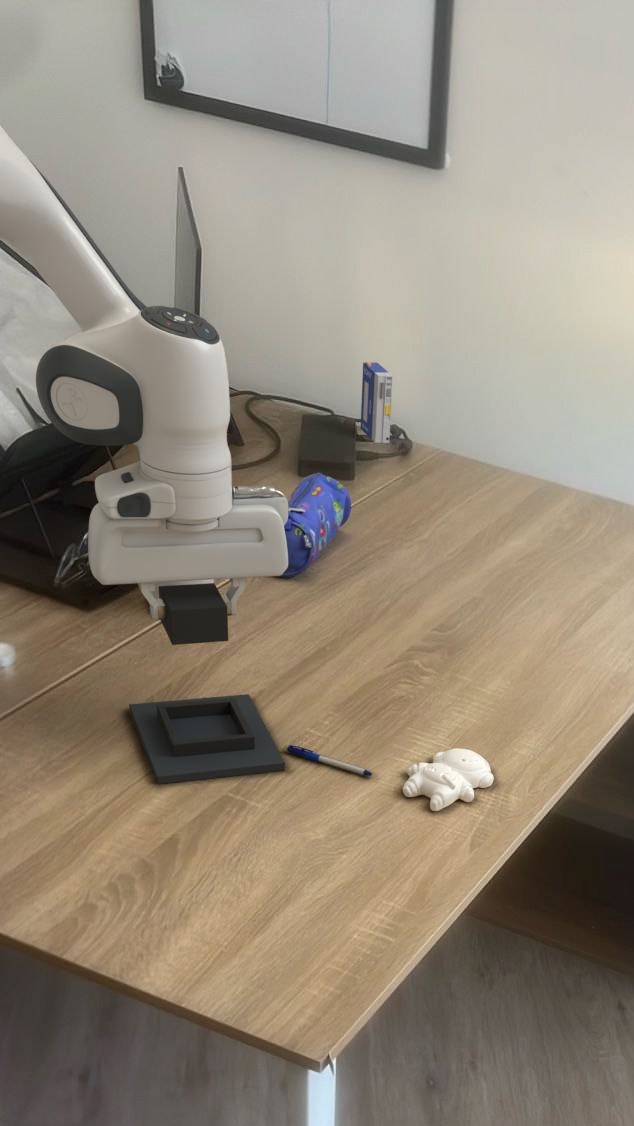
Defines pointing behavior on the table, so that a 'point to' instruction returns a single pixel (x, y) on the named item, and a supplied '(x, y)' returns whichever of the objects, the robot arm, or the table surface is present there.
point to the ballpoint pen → (326, 760)
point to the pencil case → (313, 519)
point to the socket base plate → (205, 738)
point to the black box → (194, 613)
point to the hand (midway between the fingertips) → (193, 615)
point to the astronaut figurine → (448, 777)
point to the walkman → (376, 402)
